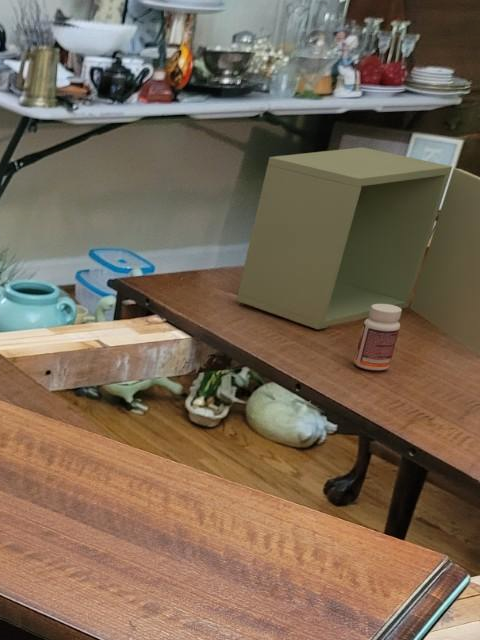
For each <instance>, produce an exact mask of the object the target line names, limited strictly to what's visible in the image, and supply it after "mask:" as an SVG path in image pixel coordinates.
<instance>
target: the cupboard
mask: <svg viewBox="0 0 480 640" xmlns="http://www.w3.org/2000/svg"><path fill="white" fill-rule="evenodd" d="M267 162H268V163H267V165H266V170H265V175H264V179H263V182H262V183H263V184H262V188H261V192H260V196H259V201H258V204H257V210H256V214H255V218H254V223H253V227H252V231H251V235H250V238H249V239H250V240H249V244H248V248H247V254H246V257H245V260H244V261H245V262H244V266H243V270H242V274H241V279H240V283H239V288H238V292H237V296H236V302H239V303H242V304H244V305H247V306H250V307H253V308H256V309H259V310H261V311H264V312H267V313H270V314H272V315H276V316H279V317H282V318H284V319H286V320H289V321H292V322H295V323H298V324H301V325H304V326H307V327H309V328H311V329H312V328H313V329H315V330H322V329H326V328H330V327H331V326H333V325H334V326H335V325H338V324H345V323H350V322H353V321H360V320H364V319H367V318H369V312H370V309H371V306H372V305H374V304H389V305H394V306H397V307H399V308H401V309H405V308H409V307H410V306H409V305H410V304H411V300H412V297H413V294H414V291H415V288H416V287H415V286H416V284H417V281H418V278H419V273H420V272H421V269H422V264H423V262H424V259H425V256H426V255H425V254H426V253H427V252H426V251H427V250H428V249H427V248H428V246H429V243H430V242H429V241H430V240H431V237H432V234H433V231H434V226H435V224H436V220H437V217H438V213H439V212H440V207H441V204H442V201H443V199H444V198H443V197H444V194H445V193H446V189H447V186H448V183H449V179H450V177H451V173H452V169H453V166H452V165H448V164H444V163H438V162H433V161H430V160H424V159H420V158H416V157H415V158H414V157H411V156H406V155H401V154H396V153H391V152H386V151H382V150H378V149H373V148H368V147H363V146H362V147H353V148H345V149H334V150H324V151H316V152H315V151H314V152H306V153H295V154H287V155H275V156H269V158H268V161H267Z"/></svg>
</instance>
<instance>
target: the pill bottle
mask: <svg viewBox="0 0 480 640" xmlns="http://www.w3.org/2000/svg"><path fill="white" fill-rule="evenodd" d="M402 309H403V308H402ZM402 309H401V308H399V307H397V306H394V305H389V304H374V305H372V306H371V309H370V312H369V317H368V318H365V320H364V322H363V325H362V328H361V332H360V337H359V340H358V345H357V348H356V352H355V356H354V361H353V362H354V364H355V365H356V366H357V367H358V368H361V369H364V370H368V371H369V370H370V371H385V370H387V369H389V368H390V366H391V361H392V358H393V354H394V351H395V347H396V344H397V340H398V337H399V333H400V329H401V324H400V322H399V320H400V319H401V316H402V311H403V310H402Z"/></svg>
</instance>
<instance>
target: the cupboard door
mask: <svg viewBox="0 0 480 640" xmlns="http://www.w3.org/2000/svg"><path fill="white" fill-rule="evenodd" d="M451 173H452V174H451V175H450V178H449V179H450V180H449V181H448V185H447V188H446V189H447V190H446V191H445V196H444V198H443V200H442V201H443V202H442V205H441V208H440V210H439V215H438V216H437V217H438V218H437V219H436V220H437V221H436V222H435V227H434V229H433V232H432V235H431V238H430V242H429V245H428V249H427V252H426V255H425V257H424V260H423V263H422V264H423V265H422V267H421V270H420V275H419V276H418V279H417V282H416V285H415V286H416V287H415V289H414V292H413V295H412V298H411V301H410V304H409V305H410V306H409V309H410V310H411V311H413V312H414V313H416V314H417V315H419V316H420V317H422V318H423V319H424V320H426V321H427V322H429V323H430V324H431V325H433V326H434V327H436V328H437V329H439V330H440V331H441V332H443V333H444V334H445V335H447V336H449V337H450V338H451V339H452V340H454V341H456V342H457V343H459V344H460V345H461V346H462V347H464V348H466V349H467V350H469V351H470V352H471V353H473V354H475V356H477V357H479V358H480V176H478V175H476V174H473V173H471V172H469V171H466V170H464V169H461V168H455V167H454V168H453V170H452V172H451Z"/></svg>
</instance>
